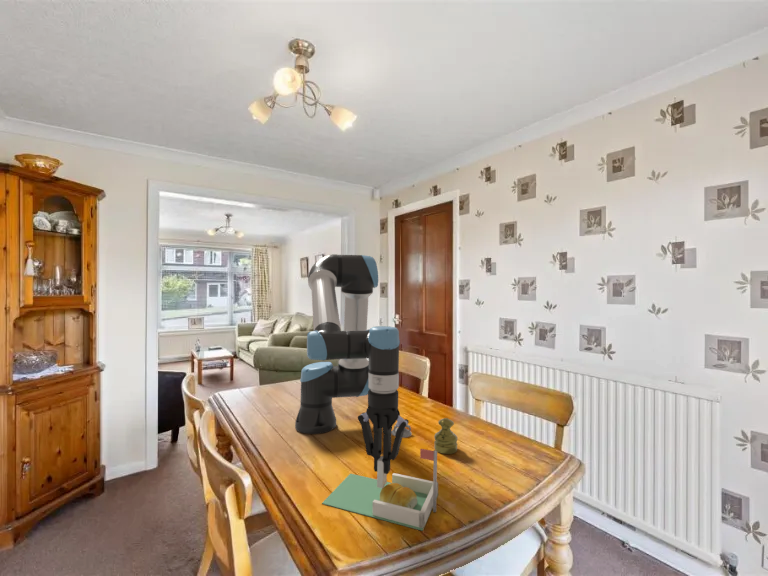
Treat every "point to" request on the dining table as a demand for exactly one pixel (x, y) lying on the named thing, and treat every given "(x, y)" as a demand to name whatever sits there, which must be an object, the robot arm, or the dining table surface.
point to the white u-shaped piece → (416, 485)
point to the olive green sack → (445, 438)
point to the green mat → (364, 497)
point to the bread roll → (398, 495)
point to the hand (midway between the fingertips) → (381, 484)
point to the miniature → (406, 431)
